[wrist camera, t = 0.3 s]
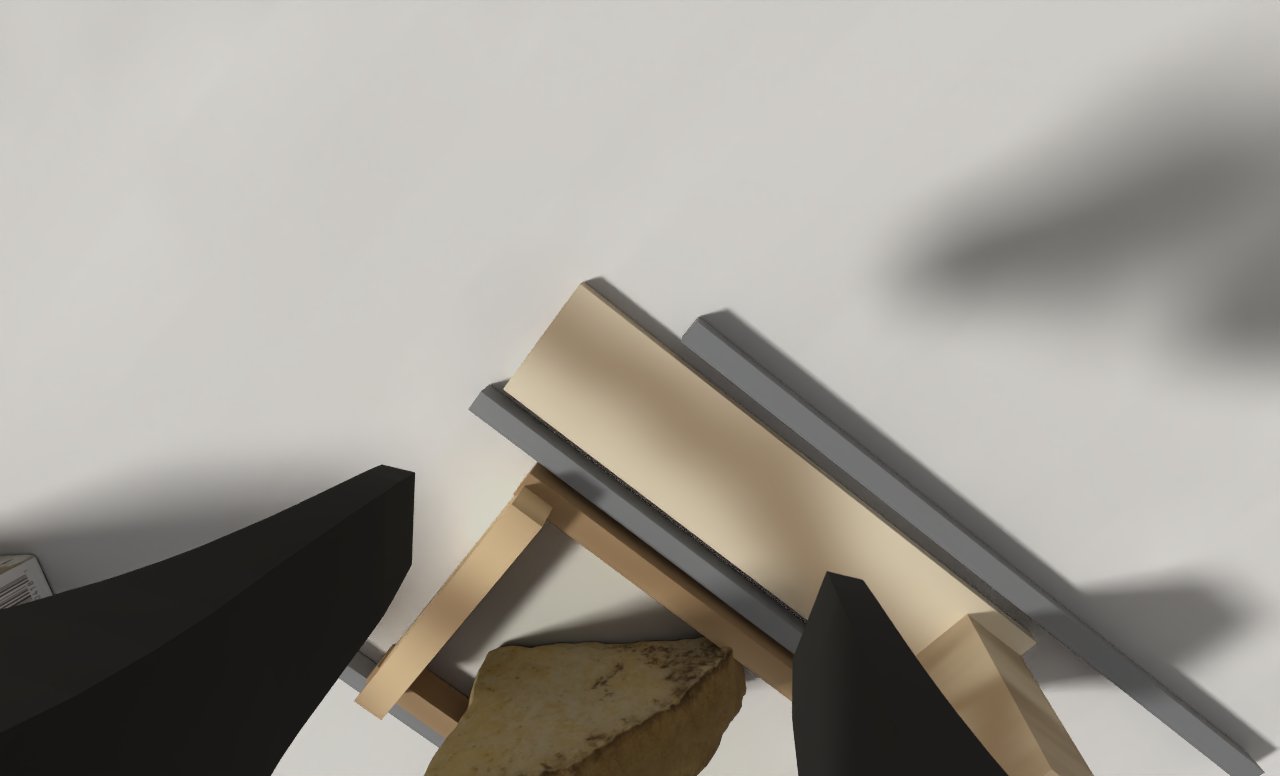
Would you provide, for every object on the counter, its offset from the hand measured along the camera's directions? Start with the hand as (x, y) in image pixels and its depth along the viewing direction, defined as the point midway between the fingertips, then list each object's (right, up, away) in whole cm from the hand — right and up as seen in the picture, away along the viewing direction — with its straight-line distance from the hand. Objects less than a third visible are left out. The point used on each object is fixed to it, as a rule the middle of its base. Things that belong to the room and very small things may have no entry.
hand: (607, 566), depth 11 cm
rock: (-1, -8, +14) cm, 16 cm away
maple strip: (+5, -1, +11) cm, 12 cm away
